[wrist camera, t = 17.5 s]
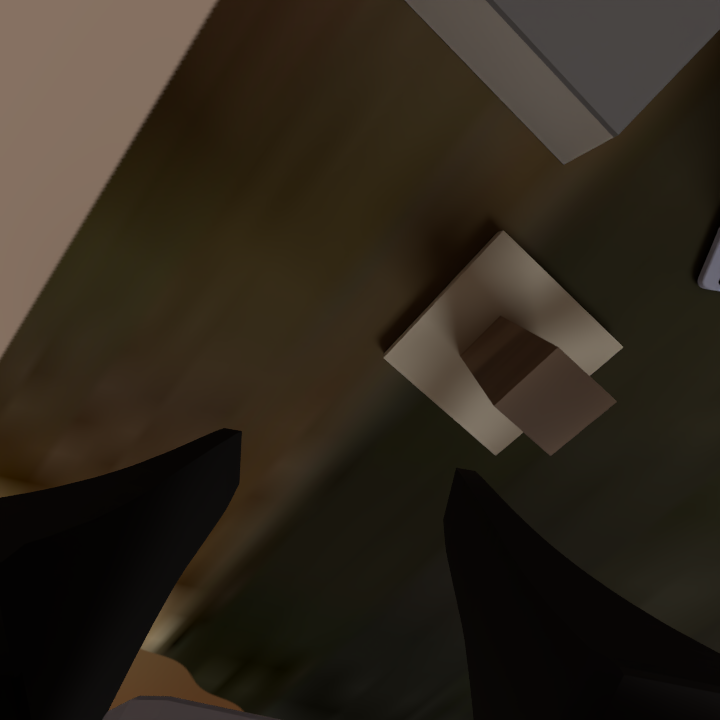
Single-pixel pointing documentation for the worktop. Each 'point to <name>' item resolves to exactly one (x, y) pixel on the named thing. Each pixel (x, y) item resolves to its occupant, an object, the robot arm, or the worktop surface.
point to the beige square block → (474, 315)
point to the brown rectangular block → (535, 384)
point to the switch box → (573, 58)
